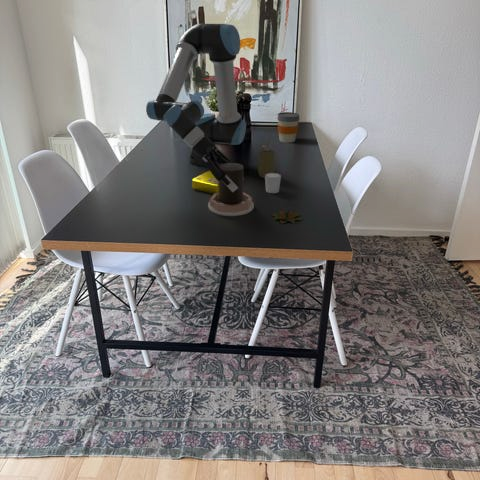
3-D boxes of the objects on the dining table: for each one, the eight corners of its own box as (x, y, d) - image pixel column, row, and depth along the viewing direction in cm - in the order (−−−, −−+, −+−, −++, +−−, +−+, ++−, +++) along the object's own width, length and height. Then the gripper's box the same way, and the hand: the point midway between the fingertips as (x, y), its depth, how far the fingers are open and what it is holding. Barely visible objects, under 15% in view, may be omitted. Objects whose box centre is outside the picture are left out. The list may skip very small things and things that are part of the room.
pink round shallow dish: (215, 196, 189) (215, 188, 188) (257, 200, 186) (258, 192, 184) (202, 213, 174) (202, 204, 172) (248, 218, 170) (248, 209, 169)
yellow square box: (237, 185, 202) (237, 174, 200) (219, 196, 191) (219, 185, 189) (209, 179, 209) (209, 168, 207) (190, 189, 197) (190, 178, 195)
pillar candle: (234, 206, 173) (235, 168, 166) (213, 201, 177) (213, 163, 170) (247, 199, 180) (248, 162, 173) (227, 193, 184) (227, 157, 178)
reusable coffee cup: (298, 143, 261) (300, 117, 254) (277, 143, 261) (278, 116, 254) (296, 137, 272) (298, 112, 265) (275, 137, 272) (277, 111, 265)
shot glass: (282, 189, 197) (283, 173, 194) (278, 194, 192) (278, 178, 188) (266, 187, 199) (267, 171, 196) (262, 192, 194) (263, 176, 190)
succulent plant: (279, 227, 165) (280, 216, 162) (265, 215, 174) (265, 204, 172) (308, 222, 169) (309, 211, 167) (293, 210, 178) (293, 199, 176)
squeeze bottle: (273, 180, 207) (275, 141, 199) (255, 178, 208) (256, 139, 200) (275, 174, 214) (277, 136, 206) (258, 172, 215) (259, 135, 207)
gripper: (200, 140, 182) (238, 181, 186) (181, 156, 163) (224, 201, 167) (213, 127, 179) (251, 170, 183) (195, 143, 159) (238, 189, 164)
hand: (238, 185), depth 175 cm, fingers closed on pillar candle, 9 cm apart
